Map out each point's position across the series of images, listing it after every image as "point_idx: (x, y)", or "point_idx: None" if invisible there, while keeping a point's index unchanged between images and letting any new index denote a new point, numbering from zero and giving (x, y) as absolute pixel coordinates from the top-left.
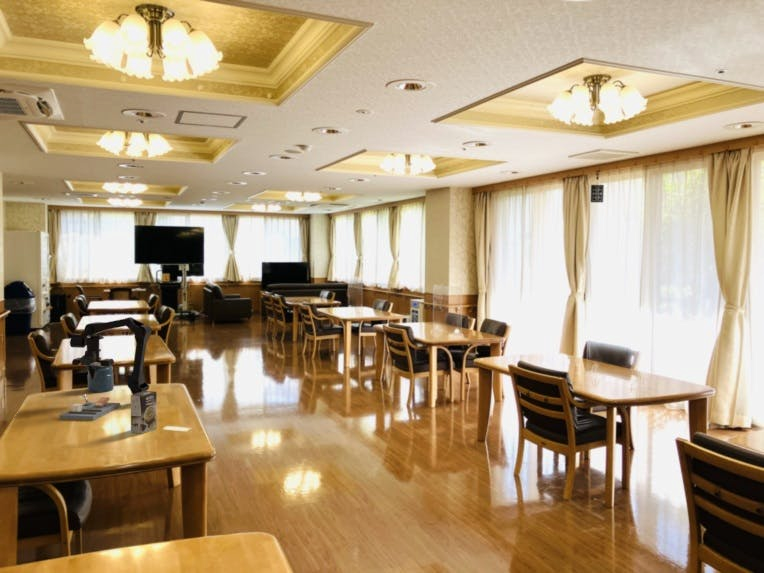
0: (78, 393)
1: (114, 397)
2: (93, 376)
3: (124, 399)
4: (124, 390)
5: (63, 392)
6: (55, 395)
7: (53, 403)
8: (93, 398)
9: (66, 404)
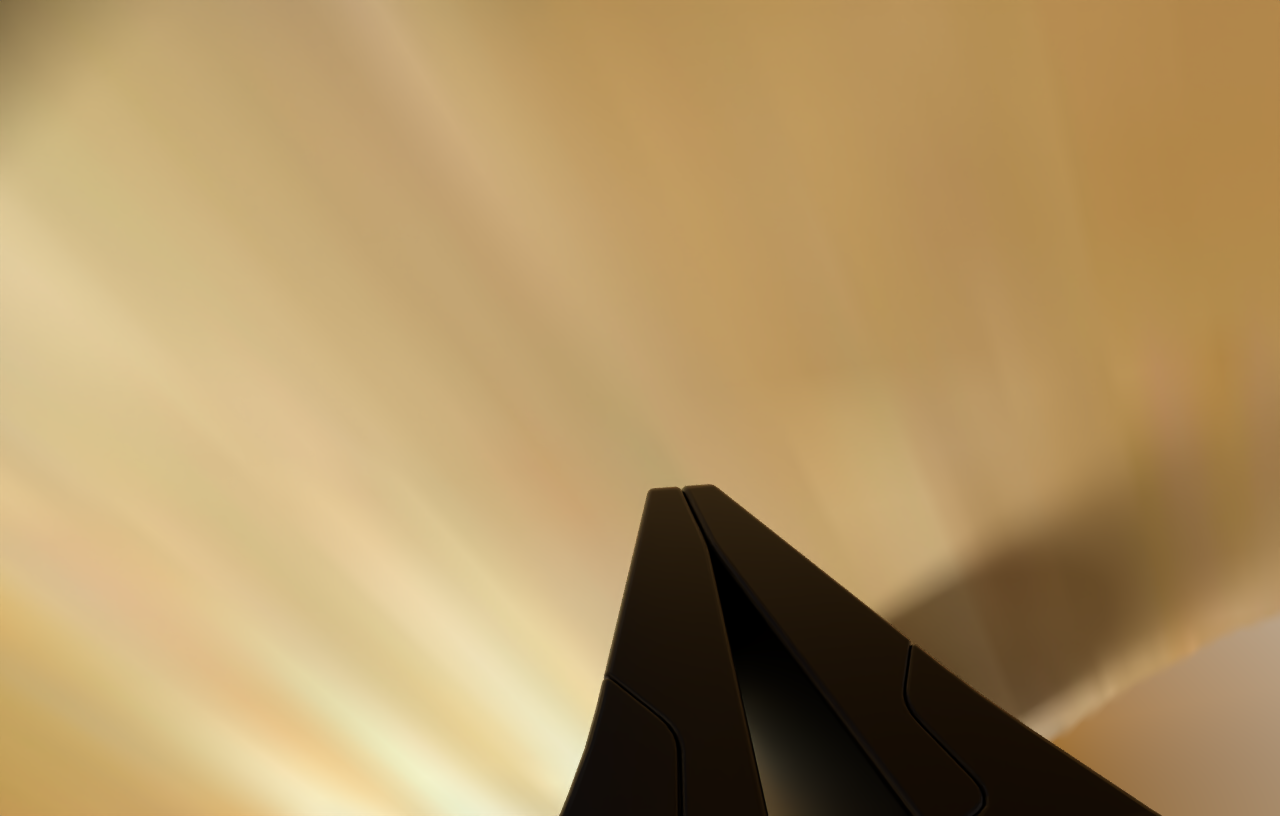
0: (1004, 623)
1: (449, 569)
2: (654, 547)
3: (198, 509)
4: (533, 812)
5: (1172, 620)
6: (1242, 509)
7: (1231, 127)
8: (728, 475)
9: (1016, 81)
